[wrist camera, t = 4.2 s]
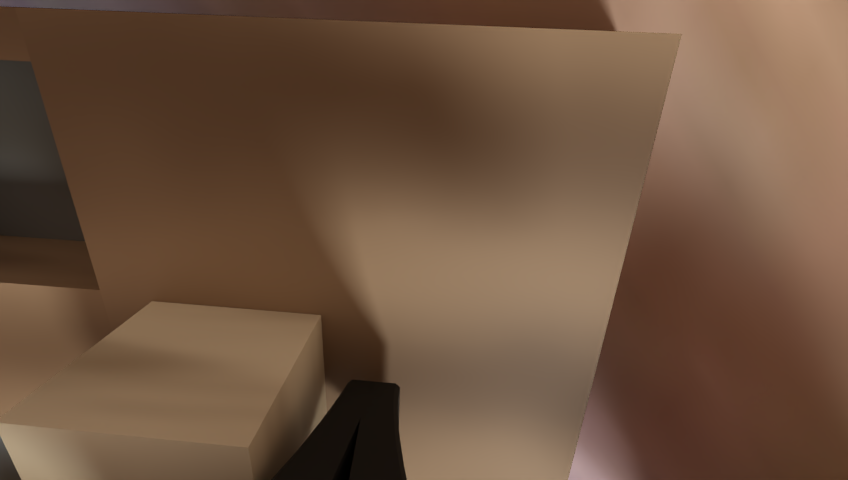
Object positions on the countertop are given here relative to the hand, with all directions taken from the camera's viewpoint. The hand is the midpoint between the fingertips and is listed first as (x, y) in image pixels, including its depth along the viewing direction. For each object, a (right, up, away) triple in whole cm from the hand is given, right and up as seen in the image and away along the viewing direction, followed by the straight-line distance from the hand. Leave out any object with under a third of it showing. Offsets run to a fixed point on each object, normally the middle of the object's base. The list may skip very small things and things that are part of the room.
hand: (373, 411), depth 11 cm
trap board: (-9, +2, +4) cm, 10 cm away
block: (-4, +1, +1) cm, 4 cm away
